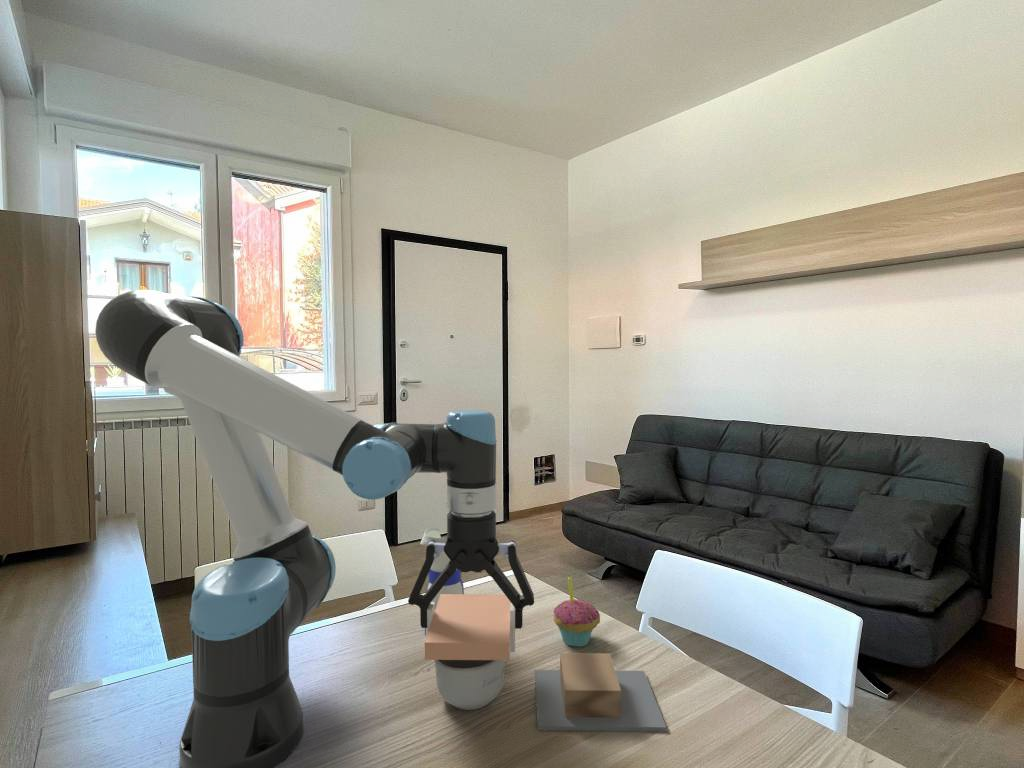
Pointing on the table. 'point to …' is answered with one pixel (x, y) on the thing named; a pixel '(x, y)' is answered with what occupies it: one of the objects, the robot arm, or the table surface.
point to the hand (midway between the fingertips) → (471, 647)
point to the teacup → (469, 681)
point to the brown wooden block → (589, 685)
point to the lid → (469, 628)
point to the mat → (635, 716)
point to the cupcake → (576, 619)
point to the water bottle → (441, 568)
